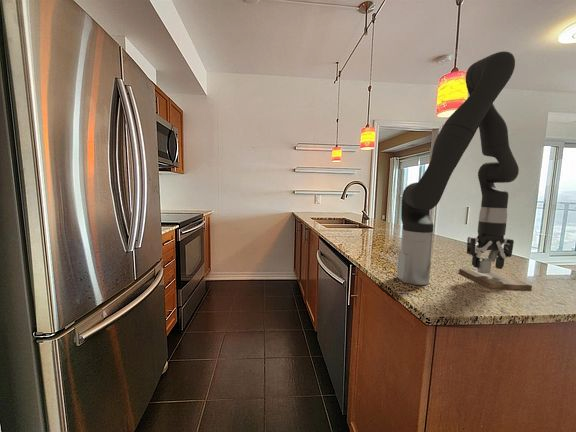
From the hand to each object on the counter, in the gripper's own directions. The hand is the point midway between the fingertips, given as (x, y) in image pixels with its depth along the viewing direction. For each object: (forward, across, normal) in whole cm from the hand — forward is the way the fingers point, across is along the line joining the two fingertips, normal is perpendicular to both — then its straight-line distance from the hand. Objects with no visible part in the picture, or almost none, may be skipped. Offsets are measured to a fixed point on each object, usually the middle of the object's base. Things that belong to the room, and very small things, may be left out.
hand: (487, 267), depth 90 cm
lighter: (+2, 0, 0) cm, 2 cm away
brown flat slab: (+4, +2, 0) cm, 5 cm away
